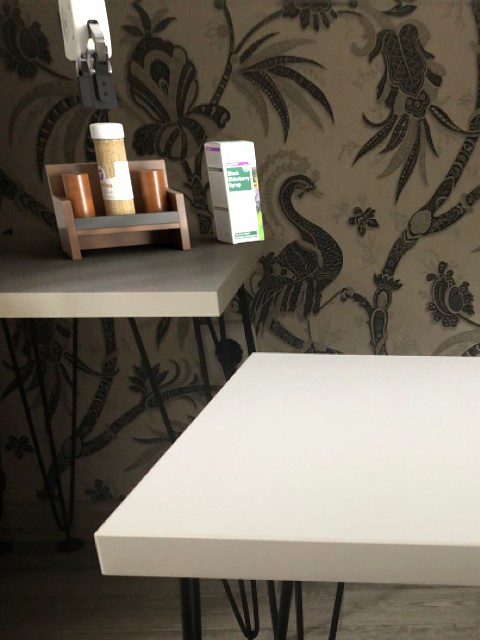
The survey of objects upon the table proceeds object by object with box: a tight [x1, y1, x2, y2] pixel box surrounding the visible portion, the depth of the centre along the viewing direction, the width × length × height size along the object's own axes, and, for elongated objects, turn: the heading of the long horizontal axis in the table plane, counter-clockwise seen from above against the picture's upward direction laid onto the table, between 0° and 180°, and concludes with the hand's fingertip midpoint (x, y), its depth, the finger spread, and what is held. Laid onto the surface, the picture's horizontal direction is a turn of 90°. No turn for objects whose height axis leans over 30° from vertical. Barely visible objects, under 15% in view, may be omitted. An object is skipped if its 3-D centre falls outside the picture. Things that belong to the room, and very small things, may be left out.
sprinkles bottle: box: [89, 122, 135, 216], centre depth 136 cm, size 5×5×14 cm
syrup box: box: [203, 140, 265, 245], centre depth 145 cm, size 6×6×14 cm
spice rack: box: [44, 159, 192, 261], centre depth 139 cm, size 17×10×12 cm, turn 119°
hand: (99, 108), depth 131 cm, fingers open, 9 cm apart
